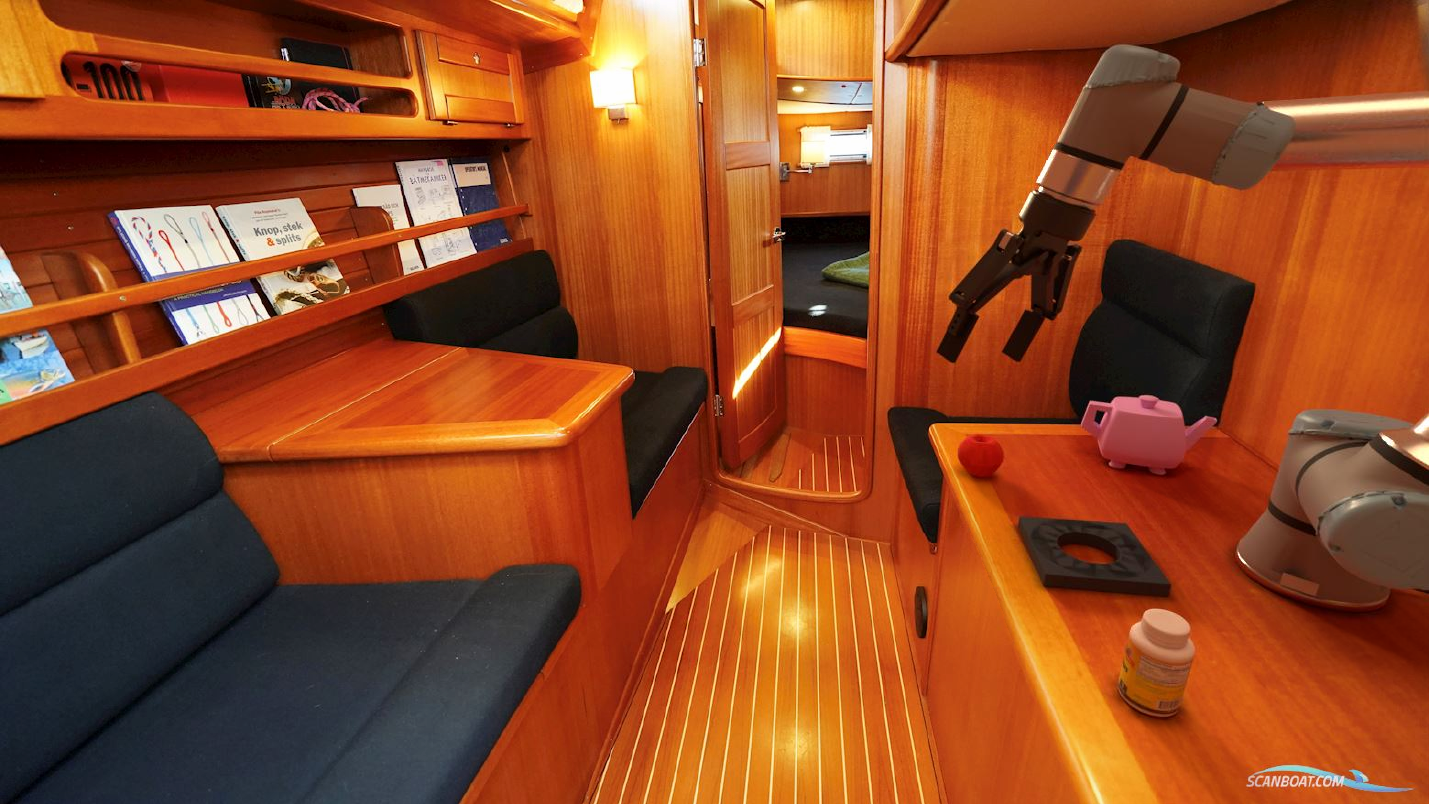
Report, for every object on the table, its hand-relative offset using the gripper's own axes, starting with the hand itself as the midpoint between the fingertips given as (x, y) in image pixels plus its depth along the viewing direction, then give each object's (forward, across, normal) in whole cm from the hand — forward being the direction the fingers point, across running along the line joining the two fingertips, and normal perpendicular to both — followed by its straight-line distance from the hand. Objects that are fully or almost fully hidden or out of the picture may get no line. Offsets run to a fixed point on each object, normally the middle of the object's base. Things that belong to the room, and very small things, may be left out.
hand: (979, 357), depth 84 cm
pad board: (+22, -18, +19) cm, 34 cm away
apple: (+28, -28, -6) cm, 40 cm away
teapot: (+20, -55, +6) cm, 58 cm away
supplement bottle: (+20, +1, +37) cm, 42 cm away
